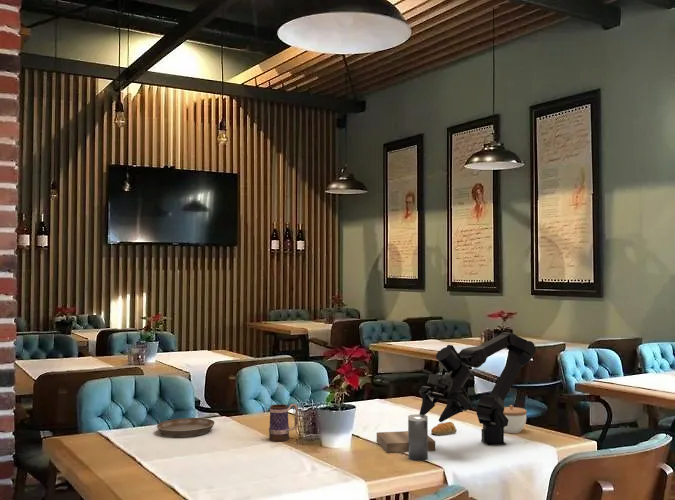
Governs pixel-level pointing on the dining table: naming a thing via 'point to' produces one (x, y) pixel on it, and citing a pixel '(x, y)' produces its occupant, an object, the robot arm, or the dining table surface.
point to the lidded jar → (514, 419)
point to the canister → (418, 437)
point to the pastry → (444, 429)
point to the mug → (280, 422)
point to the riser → (398, 441)
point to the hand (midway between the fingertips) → (429, 418)
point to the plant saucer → (185, 427)
